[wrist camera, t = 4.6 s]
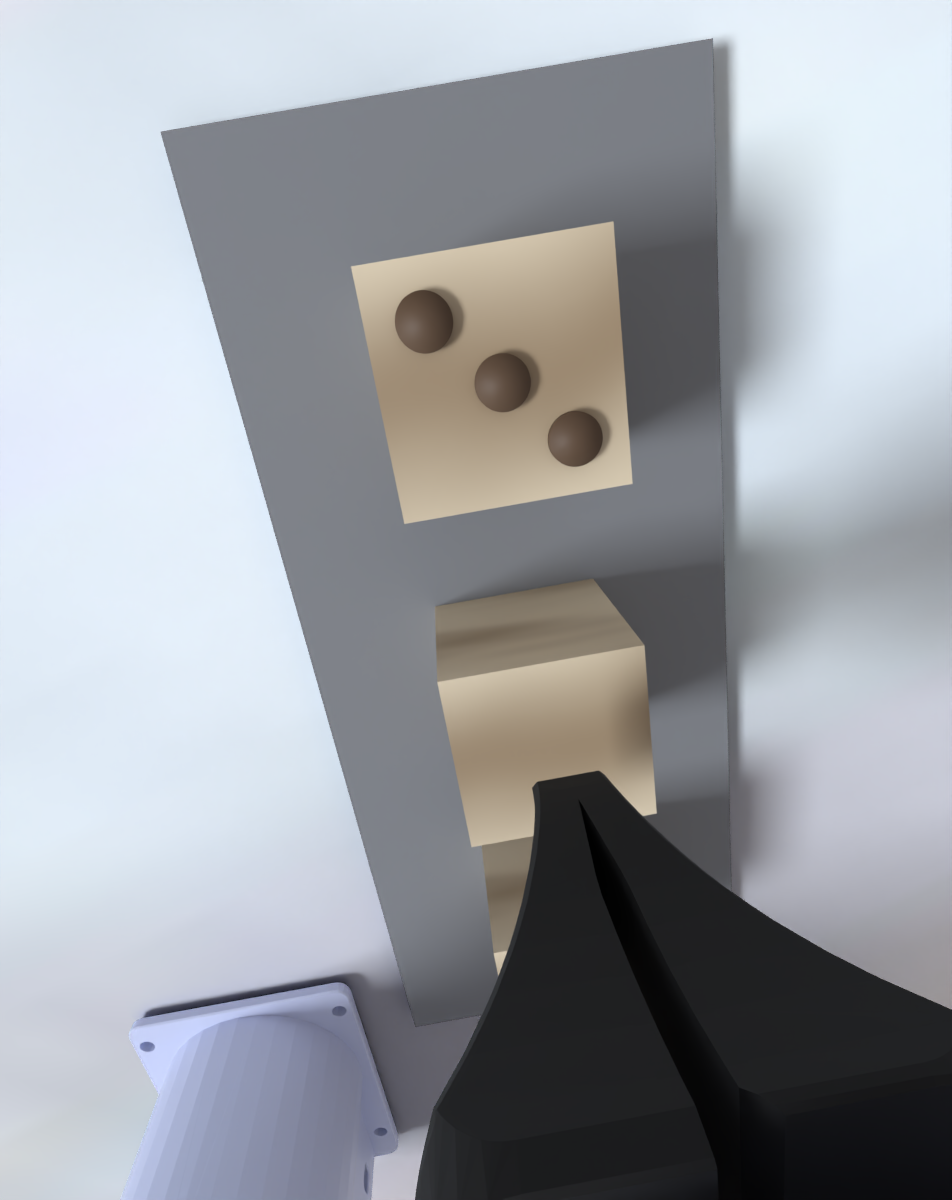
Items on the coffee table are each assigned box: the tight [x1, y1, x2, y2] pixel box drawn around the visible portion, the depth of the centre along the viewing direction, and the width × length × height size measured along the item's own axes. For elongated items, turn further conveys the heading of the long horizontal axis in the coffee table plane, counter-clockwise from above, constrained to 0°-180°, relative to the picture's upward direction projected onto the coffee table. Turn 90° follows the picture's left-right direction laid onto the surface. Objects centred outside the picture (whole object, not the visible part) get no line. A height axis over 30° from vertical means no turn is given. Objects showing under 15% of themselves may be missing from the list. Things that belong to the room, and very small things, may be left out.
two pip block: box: [481, 836, 533, 976], centre depth 19 cm, size 4×4×5 cm
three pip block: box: [351, 222, 633, 524], centre depth 13 cm, size 4×4×5 cm
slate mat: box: [161, 38, 731, 1027], centre depth 19 cm, size 28×12×1 cm, turn 9°
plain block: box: [435, 579, 657, 847], centre depth 16 cm, size 4×4×4 cm
